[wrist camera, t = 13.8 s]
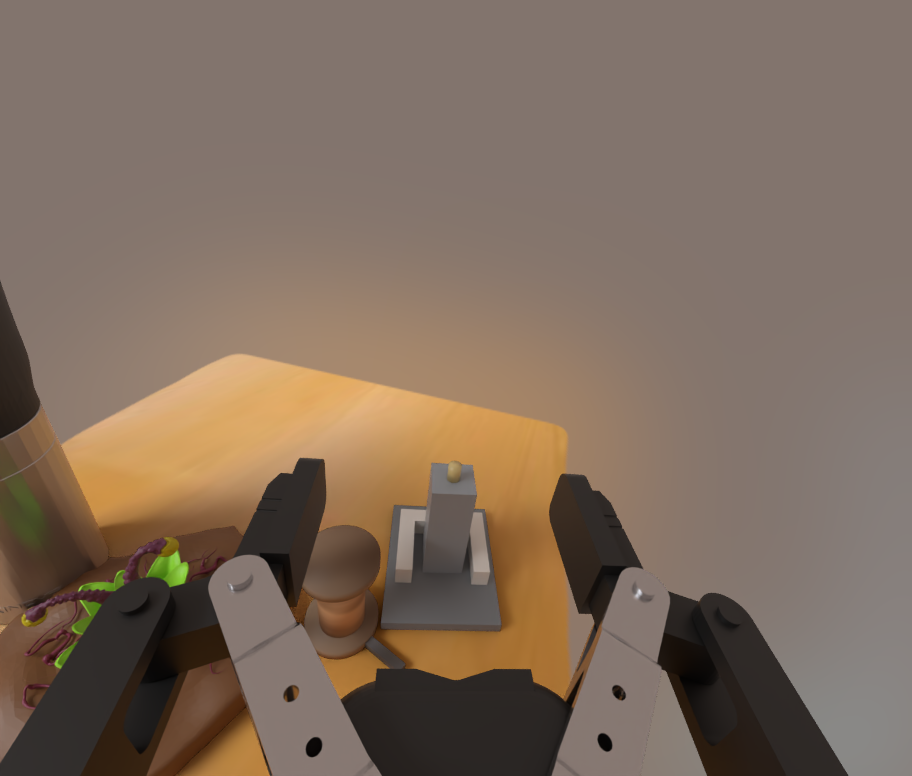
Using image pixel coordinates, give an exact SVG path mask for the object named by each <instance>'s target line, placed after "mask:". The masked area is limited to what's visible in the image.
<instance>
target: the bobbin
mask: <svg viewBox="0 0 912 776" xmlns="http://www.w3.org/2000/svg"><path fill="white" fill-rule="evenodd" d="M379 569H380V548H379V545H378V542H377V541H376V539H375V538H374V537H373V536H372V535H371V534H370V533H369V532H367V531H366V530H364V529H362V528H359V527H355V526H349V525H341V526H335V527H331V528H327V529H325V530H323V531H321V532H319V533H318V534H317V537H316V541H315V544H314V548H313V551H312V554H311V558H310V561H309V565H308V568H307V572H306V575H305V579H304V582H303V585H302V588H303V590H304V591H305V592H306V593H307V594H308V595H309V596H311V597H312V598H314V599H313V601H312V602H311V604H310V605H309V607H308V609H307V612H306V615H305V621H304V626H305V630H306V632H307V634H308V636H309V638H310V640H311V642H312V644H313V646H314V648H315V650H316V652H317V654H318V655H320V656H322V657H324V658H328V659H343V658H347V657H350V656H352V655H355V654H356V653H358V652H360V651H361V650H362V649H363V648H364V647H366V648H367V649H368V650H369V651H370V652H371V653H373V654H374V655H375V656H376V657H377V658H379V659H380V660H381V661H382V662H383V663H384V664H386V665H387V666H388V667H389V668H390V669H404V668H405V663H404V662H403V661H402V660H400V659H399V658H398V657H397V656H396V655H394V654H393V653H392V652H391V651H390V650H388V649H387V648H386V647H385V646H383V645H382V644H381V643H380V642H379V641H377V640H376V639H375V638H374V637H373V636H374V634H375V632H376V629H377V624H378V605H377V601H376V599H375V597H374V595H373V594H372V593H371V592H370V591H369V590H368V588H369V587H370V586H371V585H372V584H373V582H374V581H375V579H376V577H377V575H378V572H379Z"/></svg>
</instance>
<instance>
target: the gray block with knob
mask: <svg viewBox="0 0 912 776" xmlns="http://www.w3.org/2000/svg"><path fill="white" fill-rule="evenodd" d="M476 497H477V492H476V485H475V478H474V472H473V465H462V464H461V463H460V462H458V461H451V462H450V463H449V464H441V463H432V464H431V473H430V482H429V490H428V499H427V508H426V517H425V526H424V534H423V573H462V569H463V564H464V559H465V554H466V548H467V543H468V538H469V533H470V528H471V523H472V518H473V513H474V507H475V502H476Z"/></svg>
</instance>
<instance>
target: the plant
mask: <svg viewBox="0 0 912 776" xmlns="http://www.w3.org/2000/svg"><path fill="white" fill-rule="evenodd" d="M242 539H243V536H242V535H241V534H240V533H239V532H238V530H237V529H236V527H234V526H231V527H226V528H218V529H211V530H206V531H202V532H198V533H193V534H189V535H182V536H176V537H165V538H160V539H157V540H154V541H153V542H149V543H147V545H145V546H142V547H139V548H138V549H137V552H136V553H135V554H134V555H131V556H127V557H110V558H109V559H108V560H107V561H106V562H105V563H103V564H102V565H101V566H99V567H98V568H96V569H93V570H91V571H88V572H85V573H83V574H82V575H81V576H79V577H78V578H77V579H75V580H74V581H73V582H71V583H70V584H68V585H66V586H65V587H63V588H62V589H61V590H59V591H58V592H56V593H55V594H54V595H53V596H52V597H51V598H50V599H48V600H47V601H46V602H44V603H40V604H39V605H37V606H34V607H31V608H30V609H28V610H27V611H26V612H24V613H21V614H19V615H17V616H16V617H15V618H14V619H13V620H12V621H11V622H10V623H9V625H8V626H7V627H6V628H5V629H4V630H3V631H2V632H1V634H0V762H1V761H2V759H3V758H4V756H5V755H6V753H7V752H8V750H9V748H10V747H11V745H12V744H13V742H14V741H15V739H16V738H17V736H18V734H19V733H20V731H21V730H22V728H23V727H24V725H25V724H26V722H27V720H28V719H29V717H30V716H31V714H32V713H33V711H34V710H35V708H36V706H37V705H38V703H39V702H40V700H41V699H42V697H43V695H44V694H45V692H46V691H47V689H48V688H49V686H50V685H51V683H52V681H53V680H54V678H55V677H56V675H57V674H58V672H59V671H60V669H61V667H62V666H63V664H64V663H65V661H66V660H67V658H68V657H69V655H70V653H71V652H72V650H73V649H74V647H75V646H76V644H77V643H78V641H79V639H80V638H81V636H82V635H83V633H84V632H85V630H86V628H87V627H88V625H89V624H90V622H91V621H92V619H93V618H94V616H95V614H96V613H97V611H98V610H99V608H100V607H101V605H102V604H103V602H104V601H105V600H106V599H107V598H108V597H109V596H110V595H111V594H112V593H113V592H114V591H116V590H117V589H118V588H120V587H121V586H123V585H125V584H127V583H129V582H131V581H134V580H137V579H140V578H145V577H157V578H160V579H163V580H164V581H166V582H167V584H168V585H169V587H172V586H176V585H180V584H184V583H188V582H192V581H196V580H200V579H203V578H206V577H208V576H211V575H213V574H214V572H215V571H216V570H217V569H218V568H219V567H220V566H221V565H222V564H224V563H225V562H227V561H229V560H231V559H232V558H233V557H234V555H235V553H236V551H237V549H238V547H239V545H240V543H241V541H242ZM245 707H246V704H245V701H244V698H243V695H242V692H241V690H240V687H239V684H238V681H237V678H236V675H235V672H234V669H233V666H232V663H231V660H230V658H226V659H223V660H220V661H216V662H213V663H210V664H207V665H204V666H201V667H198V668H195V669H192V670H189V671H188V673H187V676H186V678H185V681H184V683H183V686H182V688H181V691H180V693H179V696H178V698H177V701H176V703H175V706H174V708H173V711H172V713H171V716H170V718H169V721H168V723H167V726H166V728H165V731H164V733H163V736H162V738H161V741H160V743H159V746H158V748H157V751H156V753H155V756H154V758H153V761H152V763H151V766H150V768H149V771H148V773H147V776H174V775H176V774H177V773H178V772H179V771H180V770H181V769H182V768H183V767H184V766H185V765H186V764H187V763H188V762H189V761H190V760H191V759H192V758H193V757H194V756H195V755H196V754H197V753H198V752H199V751H200V750H201V749H203V748H204V747H205V746H206V745H207V744H208V743H209V742H210V741H211V740H212V739H213V738H214V737H215V736H216V735H217V734H218V733H219V732H220V731H221V730H222V729H223V728H224V727H225V726H226V725H227V724H228V723H229V722H230V721H231V720H232V719H233V718H234V717H235V716H236V715H237V714H238V713H240V712H241V711H242V710H243V709H244V708H245Z"/></svg>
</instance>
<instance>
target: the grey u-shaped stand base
mask: <svg viewBox="0 0 912 776" xmlns="http://www.w3.org/2000/svg"><path fill="white" fill-rule="evenodd" d="M426 508H427V507H423V506H402V505H394V510H393V519H392V528H391V537H390V546H389V555H388V564H387V573H386V582H385V591H384V600H383V609H382V618H381V629H397V630H456V631H500V628H501V618H500V611H499V604H498V597H497V590H496V583H495V576H494V569H493V562H492V555H491V548H490V542H489V535H488V528H487V521H486V514H485V509H474V513H473V518H472V523H471V528H470V533H469V538H468V543H467V548H466V554H465V559H464V564H463V569H462V573H423V534H424V526H425V517H426Z"/></svg>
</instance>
